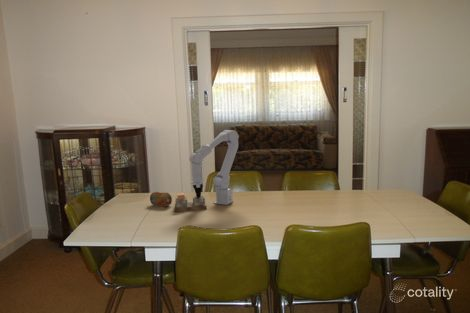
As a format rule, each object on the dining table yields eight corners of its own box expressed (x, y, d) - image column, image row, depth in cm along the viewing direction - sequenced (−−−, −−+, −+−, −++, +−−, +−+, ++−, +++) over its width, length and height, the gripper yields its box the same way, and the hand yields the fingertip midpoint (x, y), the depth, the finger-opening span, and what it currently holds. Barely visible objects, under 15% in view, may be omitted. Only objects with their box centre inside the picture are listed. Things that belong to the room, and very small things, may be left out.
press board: (205, 204, 213) (204, 194, 212) (206, 209, 204) (206, 198, 203) (175, 206, 211) (174, 197, 210) (174, 211, 201) (174, 201, 200)
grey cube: (202, 202, 210) (201, 195, 209) (202, 204, 206) (202, 197, 205) (195, 202, 209) (195, 196, 209) (195, 204, 205) (195, 198, 205)
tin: (150, 205, 217) (148, 191, 216) (153, 203, 220) (152, 190, 219) (169, 207, 210) (168, 193, 209) (173, 206, 213) (172, 192, 212)
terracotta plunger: (184, 199, 208) (184, 193, 208) (184, 201, 204) (184, 194, 204) (177, 200, 208) (177, 193, 207) (177, 202, 204) (177, 195, 203)
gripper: (189, 172, 212) (191, 194, 214) (190, 177, 197) (192, 200, 199) (201, 171, 212) (203, 193, 215) (203, 176, 198) (204, 199, 200)
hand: (198, 197), depth 207 cm, fingers closed, pressing on grey cube
